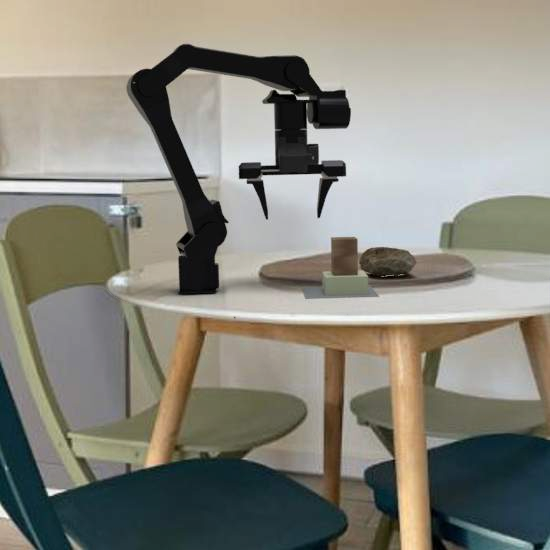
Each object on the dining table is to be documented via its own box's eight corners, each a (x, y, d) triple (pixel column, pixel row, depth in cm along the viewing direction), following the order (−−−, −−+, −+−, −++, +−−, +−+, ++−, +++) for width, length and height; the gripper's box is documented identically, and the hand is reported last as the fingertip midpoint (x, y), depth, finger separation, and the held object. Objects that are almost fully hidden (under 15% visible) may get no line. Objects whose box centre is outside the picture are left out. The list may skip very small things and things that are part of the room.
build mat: (305, 301, 151) (305, 298, 151) (301, 289, 163) (301, 287, 162) (379, 298, 151) (379, 296, 151) (369, 287, 163) (369, 285, 163)
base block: (325, 295, 153) (325, 277, 153) (322, 288, 160) (322, 271, 160) (368, 294, 153) (368, 276, 153) (363, 287, 160) (362, 270, 160)
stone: (428, 270, 170) (402, 236, 168) (396, 298, 169) (370, 265, 167) (403, 263, 182) (379, 232, 180) (374, 290, 181) (348, 259, 179)
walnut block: (333, 275, 154) (333, 239, 153) (331, 272, 158) (331, 237, 157) (357, 275, 154) (357, 239, 153) (355, 272, 158) (354, 236, 157)
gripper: (237, 130, 155) (240, 223, 158) (349, 127, 156) (350, 221, 158) (237, 131, 166) (240, 218, 169) (342, 128, 167) (343, 216, 169)
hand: (292, 218), depth 166 cm, fingers open, 9 cm apart
